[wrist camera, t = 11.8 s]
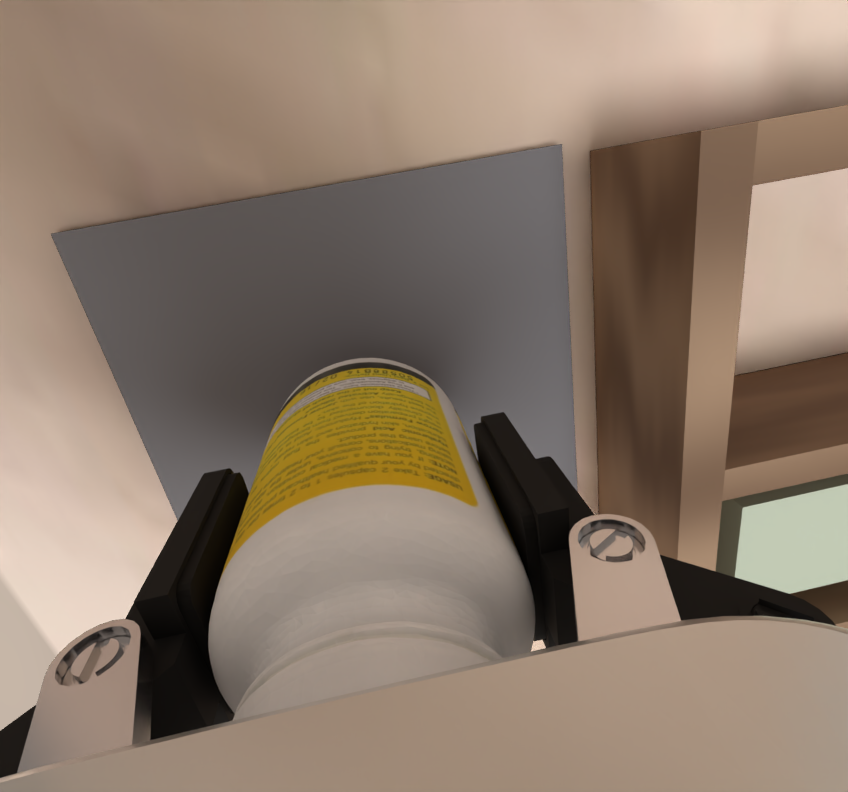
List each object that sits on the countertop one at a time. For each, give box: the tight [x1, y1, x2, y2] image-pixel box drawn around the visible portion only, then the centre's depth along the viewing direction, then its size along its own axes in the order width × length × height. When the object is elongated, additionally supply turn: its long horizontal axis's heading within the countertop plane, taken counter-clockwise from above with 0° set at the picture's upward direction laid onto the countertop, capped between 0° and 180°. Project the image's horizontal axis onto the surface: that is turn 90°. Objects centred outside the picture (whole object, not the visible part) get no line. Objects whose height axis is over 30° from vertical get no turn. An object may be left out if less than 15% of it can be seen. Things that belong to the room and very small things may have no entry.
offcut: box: [715, 474, 848, 594], centre depth 18 cm, size 4×7×4 cm, turn 100°
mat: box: [51, 144, 577, 520], centre depth 16 cm, size 14×14×1 cm
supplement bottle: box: [208, 358, 535, 721], centre depth 10 cm, size 5×5×10 cm
